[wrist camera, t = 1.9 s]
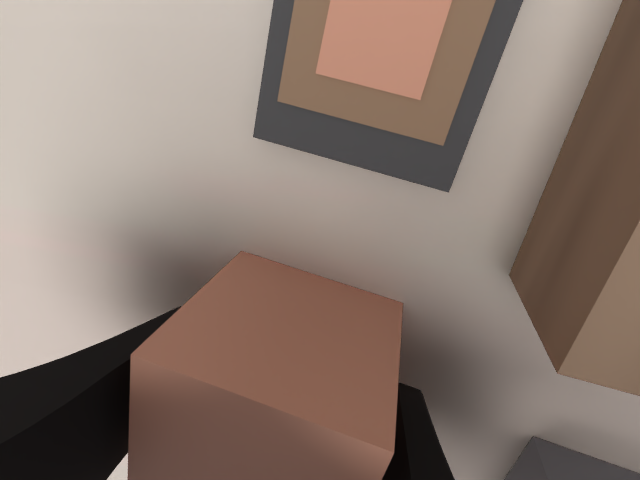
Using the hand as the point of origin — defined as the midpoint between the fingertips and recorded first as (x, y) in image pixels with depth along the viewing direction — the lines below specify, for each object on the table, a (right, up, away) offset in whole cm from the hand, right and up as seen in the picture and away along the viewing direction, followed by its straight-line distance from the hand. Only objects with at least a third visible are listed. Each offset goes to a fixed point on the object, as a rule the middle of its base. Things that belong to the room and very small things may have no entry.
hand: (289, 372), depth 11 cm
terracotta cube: (0, +1, +1) cm, 2 cm away
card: (+2, +8, -2) cm, 9 cm away
